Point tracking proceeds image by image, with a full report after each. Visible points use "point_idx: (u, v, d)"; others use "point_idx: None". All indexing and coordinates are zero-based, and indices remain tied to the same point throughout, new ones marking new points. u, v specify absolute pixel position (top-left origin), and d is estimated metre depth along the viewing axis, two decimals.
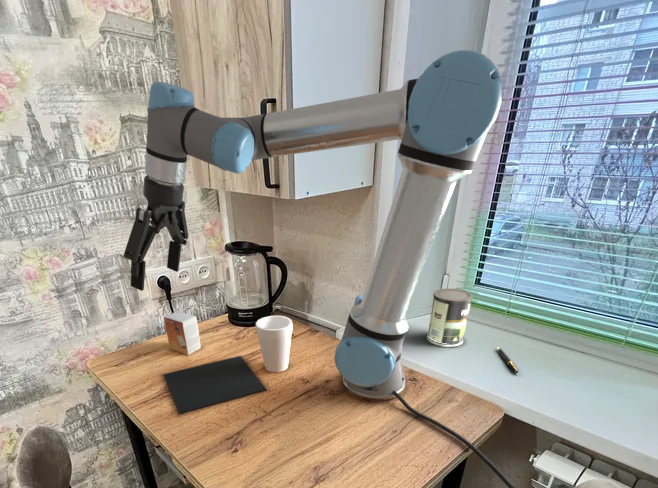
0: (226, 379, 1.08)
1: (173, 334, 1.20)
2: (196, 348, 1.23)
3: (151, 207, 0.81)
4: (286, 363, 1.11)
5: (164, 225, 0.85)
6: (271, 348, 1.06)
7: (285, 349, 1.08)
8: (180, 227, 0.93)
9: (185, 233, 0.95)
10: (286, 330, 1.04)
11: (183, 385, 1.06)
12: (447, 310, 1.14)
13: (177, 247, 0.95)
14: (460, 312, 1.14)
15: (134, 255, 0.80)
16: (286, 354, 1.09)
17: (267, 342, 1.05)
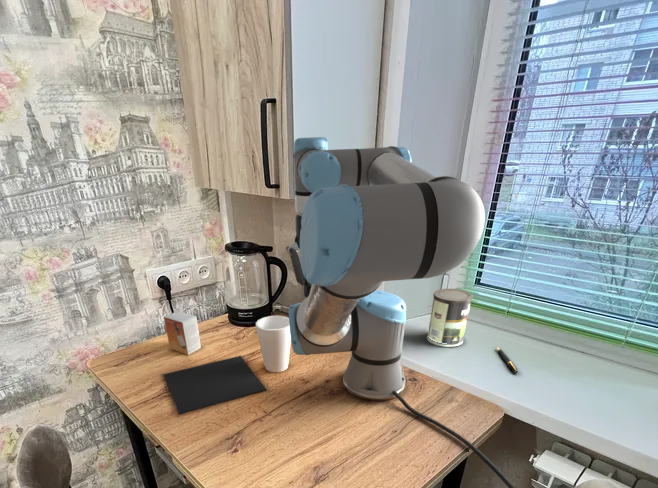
0: (226, 379, 1.08)
1: (173, 334, 1.20)
2: (196, 348, 1.23)
3: (297, 237, 0.98)
4: (286, 363, 1.11)
5: None
6: (271, 348, 1.06)
7: (285, 349, 1.08)
8: None
9: None
10: (286, 330, 1.04)
11: (183, 385, 1.06)
12: (447, 310, 1.14)
13: None
14: (460, 312, 1.14)
15: (300, 281, 1.03)
16: (286, 354, 1.09)
17: (267, 342, 1.05)
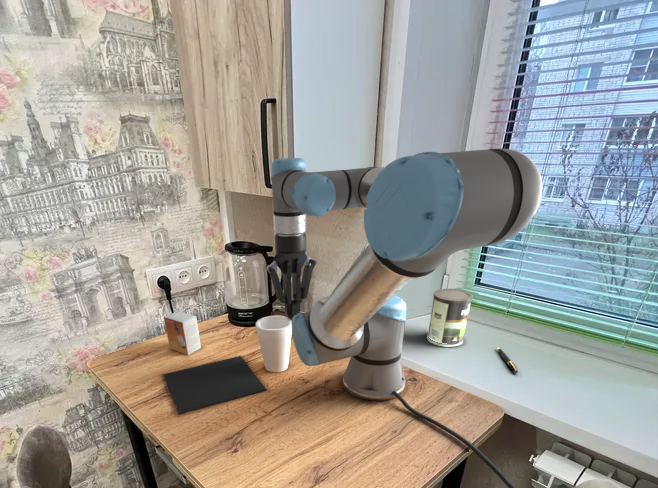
0: (226, 379, 1.08)
1: (173, 334, 1.20)
2: (196, 348, 1.23)
3: (276, 256, 0.98)
4: (286, 363, 1.11)
5: (292, 270, 1.01)
6: (271, 348, 1.06)
7: (285, 349, 1.08)
8: (303, 284, 1.05)
9: (304, 291, 1.05)
10: (286, 330, 1.04)
11: (183, 385, 1.06)
12: (447, 310, 1.14)
13: None
14: (460, 312, 1.14)
15: (279, 299, 1.03)
16: (286, 354, 1.09)
17: (267, 342, 1.05)
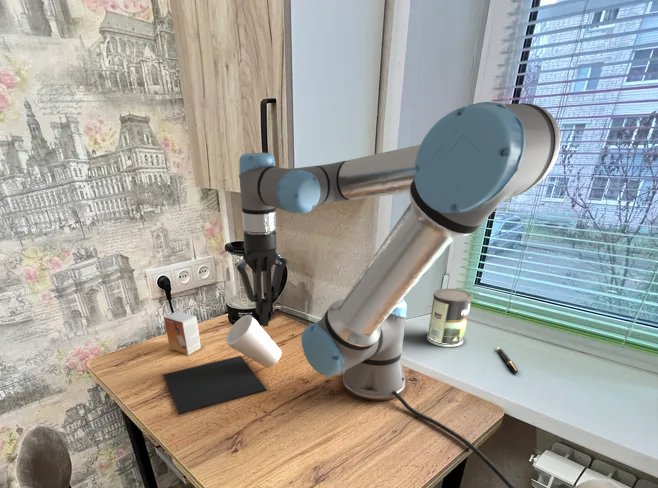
0: (226, 379, 1.08)
1: (173, 334, 1.20)
2: (196, 348, 1.23)
3: (245, 254, 0.96)
4: (276, 352, 1.09)
5: (262, 269, 0.98)
6: (251, 352, 1.05)
7: (264, 344, 1.05)
8: (274, 283, 1.02)
9: (275, 290, 1.02)
10: (250, 331, 1.02)
11: (183, 385, 1.06)
12: (447, 310, 1.14)
13: None
14: (460, 312, 1.14)
15: (249, 298, 1.01)
16: (269, 346, 1.07)
17: (244, 350, 1.05)
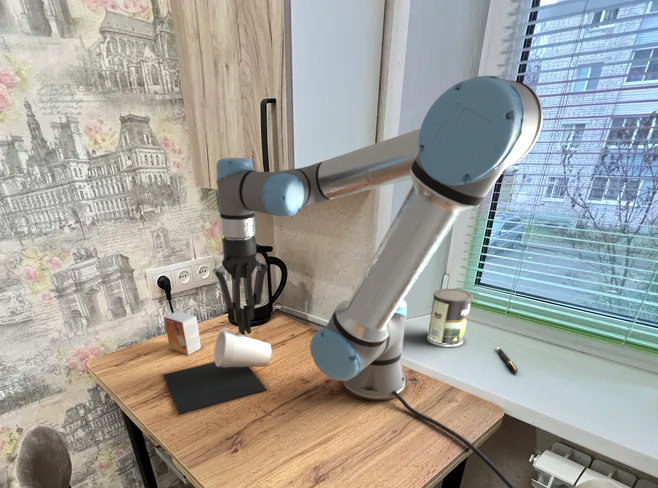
0: (226, 379, 1.08)
1: (173, 334, 1.20)
2: (196, 348, 1.23)
3: (224, 260, 0.94)
4: (265, 352, 1.07)
5: (241, 276, 0.96)
6: (240, 364, 1.05)
7: (248, 352, 1.04)
8: (256, 289, 1.00)
9: (257, 297, 1.01)
10: (228, 350, 1.01)
11: (183, 385, 1.06)
12: (447, 310, 1.14)
13: (246, 311, 1.02)
14: (460, 312, 1.14)
15: (227, 305, 0.99)
16: (255, 351, 1.05)
17: (233, 365, 1.05)
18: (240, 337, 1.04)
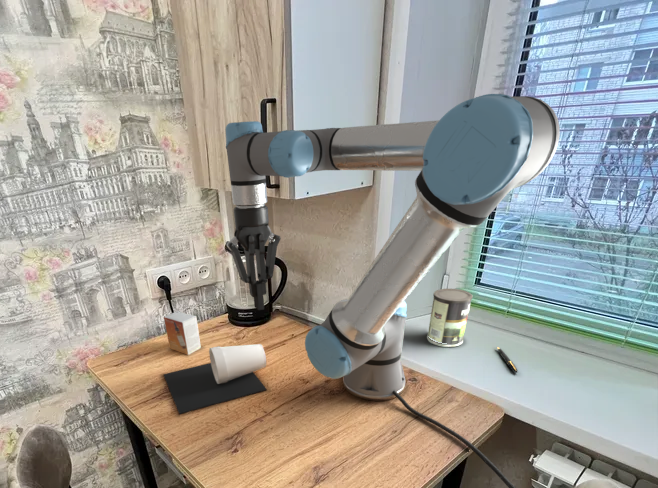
0: None
1: (173, 334, 1.20)
2: (196, 348, 1.23)
3: (236, 230, 0.91)
4: (259, 359, 1.05)
5: (254, 247, 0.94)
6: None
7: (242, 367, 1.03)
8: (268, 262, 0.98)
9: (270, 270, 0.98)
10: (221, 373, 1.01)
11: (183, 385, 1.06)
12: (447, 310, 1.14)
13: None
14: (460, 312, 1.14)
15: (243, 279, 0.96)
16: (248, 363, 1.04)
17: (231, 379, 1.06)
18: (230, 353, 1.02)
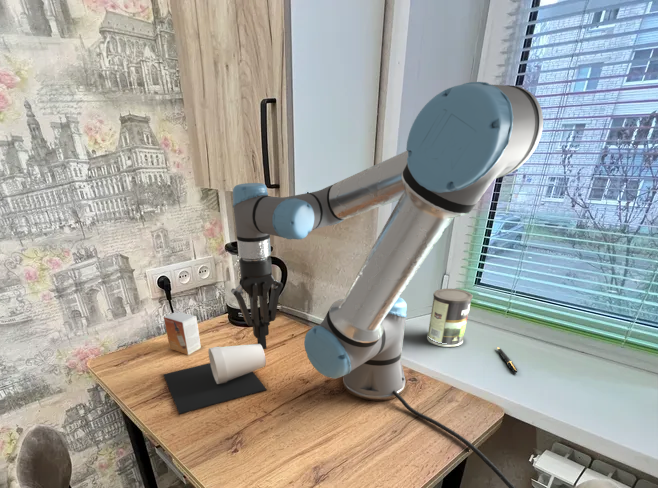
0: None
1: (173, 334, 1.20)
2: (196, 348, 1.23)
3: (241, 279, 0.98)
4: (258, 358, 1.05)
5: (258, 294, 1.00)
6: (237, 376, 1.06)
7: (241, 366, 1.03)
8: (271, 306, 1.04)
9: (272, 314, 1.04)
10: (220, 373, 1.01)
11: (183, 385, 1.06)
12: (447, 310, 1.14)
13: None
14: (460, 312, 1.14)
15: (247, 322, 1.02)
16: (248, 362, 1.04)
17: (230, 379, 1.06)
18: (229, 353, 1.02)
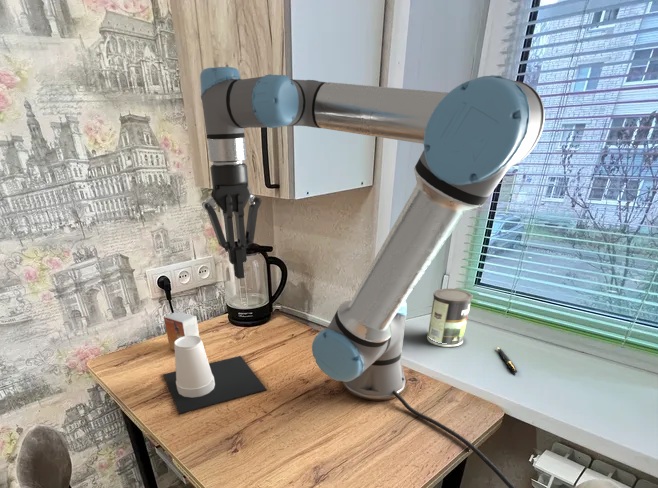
0: (226, 379, 1.08)
1: (173, 334, 1.20)
2: None
3: (213, 190, 0.86)
4: (188, 354, 0.96)
5: (233, 209, 0.88)
6: (208, 370, 1.01)
7: (195, 372, 0.99)
8: (248, 227, 0.92)
9: (250, 235, 0.92)
10: (199, 393, 1.01)
11: None
12: (447, 310, 1.14)
13: None
14: (460, 312, 1.14)
15: (221, 243, 0.90)
16: (191, 366, 0.98)
17: (211, 375, 1.03)
18: (180, 380, 1.00)
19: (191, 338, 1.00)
